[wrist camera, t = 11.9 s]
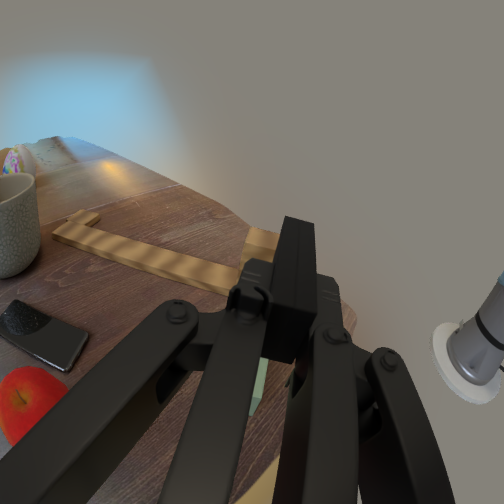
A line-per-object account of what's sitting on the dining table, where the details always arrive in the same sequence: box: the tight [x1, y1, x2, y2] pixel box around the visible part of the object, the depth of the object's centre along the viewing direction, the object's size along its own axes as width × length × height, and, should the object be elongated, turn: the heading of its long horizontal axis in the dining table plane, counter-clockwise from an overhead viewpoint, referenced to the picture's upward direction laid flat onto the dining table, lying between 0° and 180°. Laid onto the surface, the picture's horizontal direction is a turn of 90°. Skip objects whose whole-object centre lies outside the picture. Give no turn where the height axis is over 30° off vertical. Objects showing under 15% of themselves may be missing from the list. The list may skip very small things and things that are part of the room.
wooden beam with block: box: [52, 209, 280, 296], centre depth 48 cm, size 49×14×12 cm, turn 80°
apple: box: [0, 366, 69, 446], centre depth 16 cm, size 9×9×12 cm
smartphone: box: [0, 299, 89, 373], centre depth 28 cm, size 7×1×16 cm
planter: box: [0, 172, 41, 279], centre depth 34 cm, size 17×17×15 cm
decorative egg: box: [3, 145, 36, 178], centre depth 59 cm, size 12×12×15 cm
